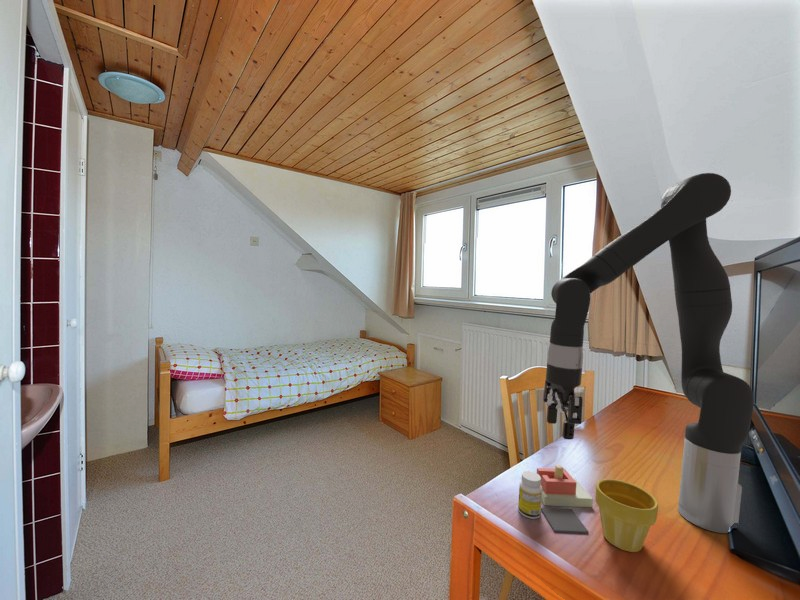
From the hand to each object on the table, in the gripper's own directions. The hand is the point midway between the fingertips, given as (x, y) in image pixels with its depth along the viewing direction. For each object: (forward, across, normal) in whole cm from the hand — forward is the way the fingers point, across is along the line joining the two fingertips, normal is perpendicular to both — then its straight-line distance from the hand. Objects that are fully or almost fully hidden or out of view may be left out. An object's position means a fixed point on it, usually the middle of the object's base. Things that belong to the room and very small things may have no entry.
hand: (559, 430), depth 83 cm
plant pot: (+16, -14, -8) cm, 23 cm away
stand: (+16, 0, -2) cm, 16 cm away
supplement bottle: (+16, -7, +8) cm, 19 cm away
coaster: (+16, -9, +2) cm, 18 cm away
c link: (+14, 0, 0) cm, 14 cm away
